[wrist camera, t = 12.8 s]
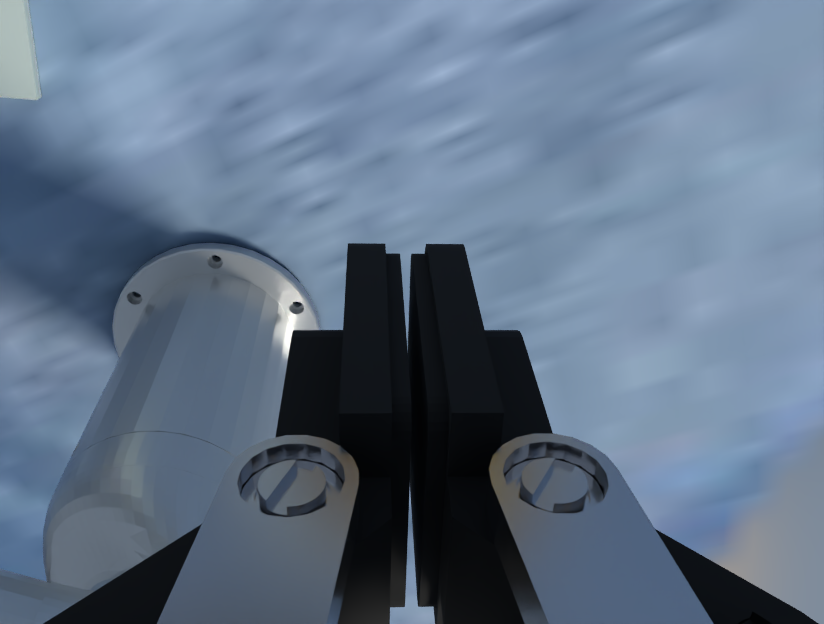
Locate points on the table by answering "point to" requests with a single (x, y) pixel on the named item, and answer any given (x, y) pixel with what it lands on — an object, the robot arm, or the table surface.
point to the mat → (17, 52)
